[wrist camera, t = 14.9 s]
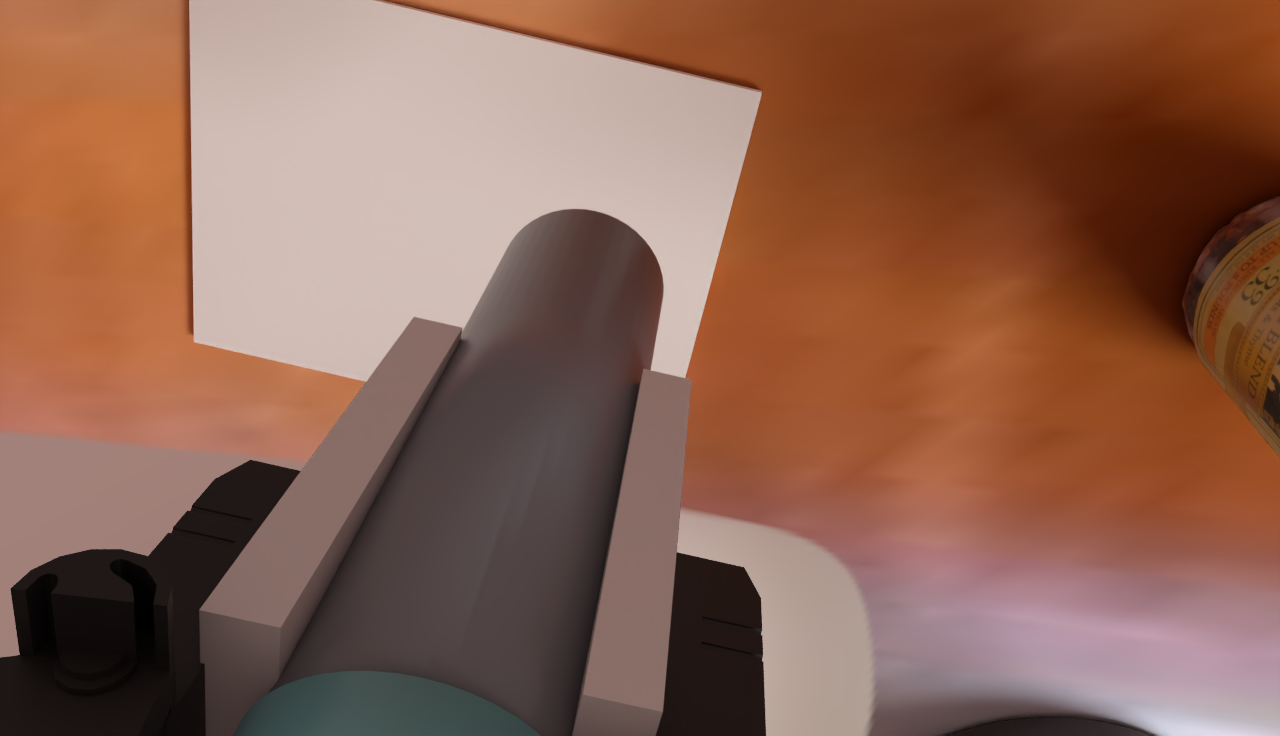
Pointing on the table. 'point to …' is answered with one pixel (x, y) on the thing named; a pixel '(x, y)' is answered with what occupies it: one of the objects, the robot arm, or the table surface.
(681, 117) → the paper
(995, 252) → the table surface
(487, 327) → the marker
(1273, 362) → the sauce bottle
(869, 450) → the table surface
